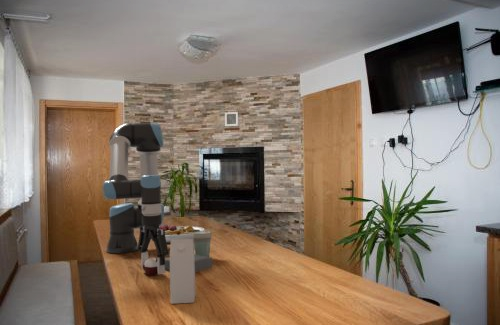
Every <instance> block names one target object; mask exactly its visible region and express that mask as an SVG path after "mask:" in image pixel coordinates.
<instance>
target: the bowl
mask: <svg viewBox="0 0 500 325" xmlns="http://www.w3.org/2000/svg"><path fill="white" fill-rule="evenodd" d="M159 228H160V229H164V230H165V238H166V243H167V244H171V240H186V239H193V234H194V232H197V231H206V230H205V228H204V227H201V226H193V225H187V226H186V225H183V226H182V225H180V226H176V225H175V224H166V223H162V225H161V226H159ZM193 242H194V240H193Z"/></svg>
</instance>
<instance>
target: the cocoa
mask: <svg viewBox="0 0 500 325" xmlns="http://www.w3.org/2000/svg"><path fill="white" fill-rule="evenodd" d="M156 255H157V256H159V255H158V254H156ZM157 256H156V258H153V257H150V258H148V260H146V261H145V263H144V265H143V269H142V270H144V272H145V275H147V276H151V277H152V276H157V275H159V274H158V265H157Z"/></svg>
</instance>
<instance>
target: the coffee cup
mask: <svg viewBox="0 0 500 325" xmlns="http://www.w3.org/2000/svg"><path fill="white" fill-rule="evenodd" d="M211 239H212V233H211V231H208V230H205V231H197V232H194V234H193V240H194V241H193V243H194V254H197V255H202V256H206V257H210V252H211V251H210V250H211V241H212V240H211Z"/></svg>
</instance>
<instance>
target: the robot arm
mask: <svg viewBox="0 0 500 325" xmlns="http://www.w3.org/2000/svg"><path fill="white" fill-rule="evenodd" d="M163 138H164V137H163V133H162V127H161V125H160V124H159V123H155V122H153V123H152V122H143V123H142V122H141V123H140V122H134V123H133V122H127V123H124V124H122V125H119V126H118V127H116V128H115V129H114V131H113V132H112V133H111V135H110V136H109V140H108V141H109V142H108V146H109V148H110V161H109V176H108V178H109V179H108V180H104V181H103V182H102V193H103V198H104V199H106V200H120V199H121V200H123V199H139V200H138V201H137V205H135V204H134V203H133V202H130V203H121V204H117V205H112V206H110V208H109V216H108V217H109V238H108V241H107V244H106V252H107V253H108V254H124V253H125V254H126V253H131V252H134V251H137V250H138V251H139V252H140V258H141V260H140V261H141V262H140V263H141V270H144V269H143V265H144V263H145V261H146V260H148V259H149V249H148V248H149V246H150V243H151V240H152V242H153V244H154V247H155V249H156V252H157V255H159V256H156V258H157V265H158V274H157V275H163V274H165V259H166V256H168V255H170V252H169V249H168V243H166V238H165V230H164V229H160V226H161V225H163V221H164V214H165V212H164V211H165V206H164V205H165V204H163V203H162V181H161V176H160V175H159V174H158V172H159V170H158V154H159V152H161V148H163V147H164V139H163ZM131 148H136V151H137V153H138V154H139V176H140V178H139V179H129V149H131ZM135 229H139V237H138V241H137V239H136V236H135Z"/></svg>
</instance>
